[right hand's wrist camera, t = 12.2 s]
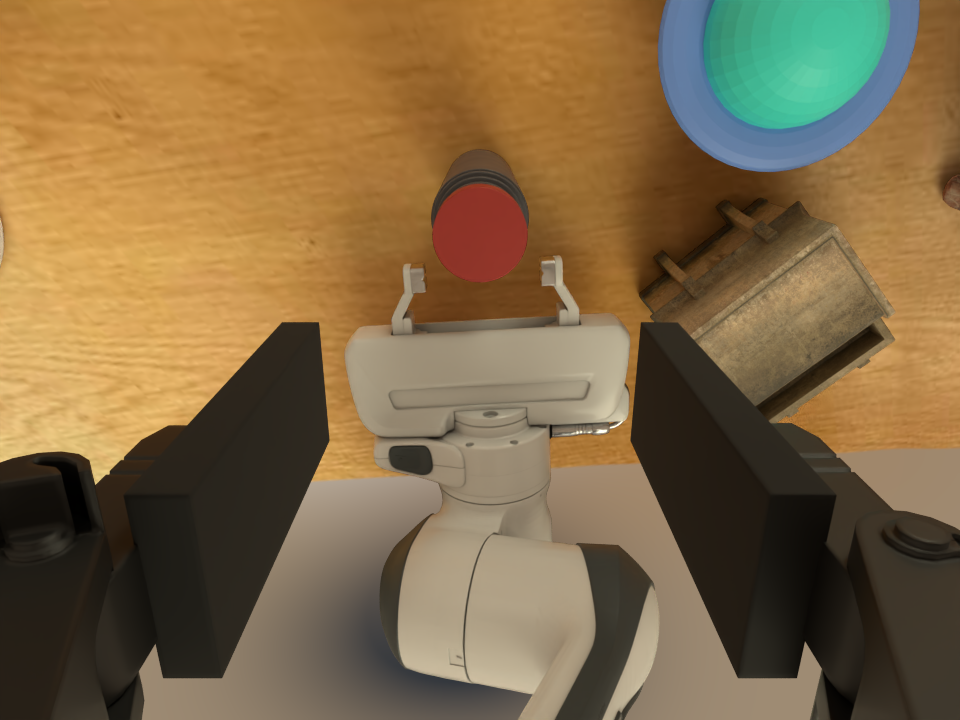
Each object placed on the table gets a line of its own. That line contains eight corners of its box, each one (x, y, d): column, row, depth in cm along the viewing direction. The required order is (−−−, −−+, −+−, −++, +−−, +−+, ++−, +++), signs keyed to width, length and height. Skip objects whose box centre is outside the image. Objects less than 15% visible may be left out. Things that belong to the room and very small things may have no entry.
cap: (454, 287, 33) (453, 295, 31) (420, 203, 31) (417, 208, 30) (537, 256, 32) (540, 263, 31) (507, 169, 31) (508, 172, 29)
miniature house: (604, 296, 53) (635, 343, 43) (753, 176, 50) (827, 195, 39) (710, 423, 57) (763, 496, 47) (855, 320, 54) (947, 372, 43)
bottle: (460, 228, 52) (448, 303, 32) (436, 164, 50) (407, 201, 30) (523, 204, 51) (550, 266, 31) (500, 138, 49) (513, 159, 30)
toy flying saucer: (722, 203, 51) (806, 237, 38) (582, 59, 47) (622, 40, 34) (885, 41, 47) (1043, 16, 34) (746, -129, 43) (863, -232, 30)
